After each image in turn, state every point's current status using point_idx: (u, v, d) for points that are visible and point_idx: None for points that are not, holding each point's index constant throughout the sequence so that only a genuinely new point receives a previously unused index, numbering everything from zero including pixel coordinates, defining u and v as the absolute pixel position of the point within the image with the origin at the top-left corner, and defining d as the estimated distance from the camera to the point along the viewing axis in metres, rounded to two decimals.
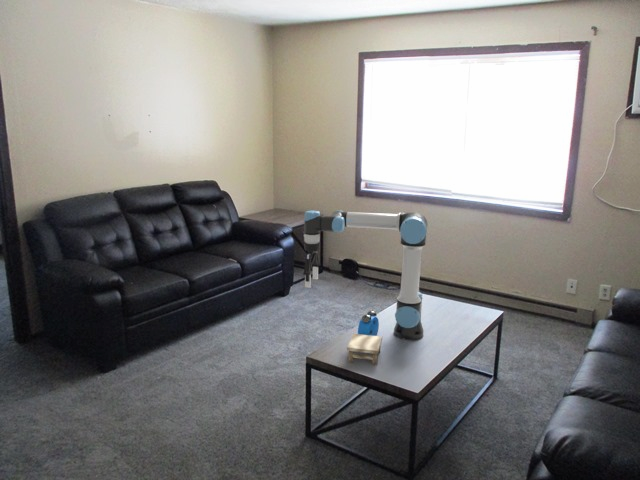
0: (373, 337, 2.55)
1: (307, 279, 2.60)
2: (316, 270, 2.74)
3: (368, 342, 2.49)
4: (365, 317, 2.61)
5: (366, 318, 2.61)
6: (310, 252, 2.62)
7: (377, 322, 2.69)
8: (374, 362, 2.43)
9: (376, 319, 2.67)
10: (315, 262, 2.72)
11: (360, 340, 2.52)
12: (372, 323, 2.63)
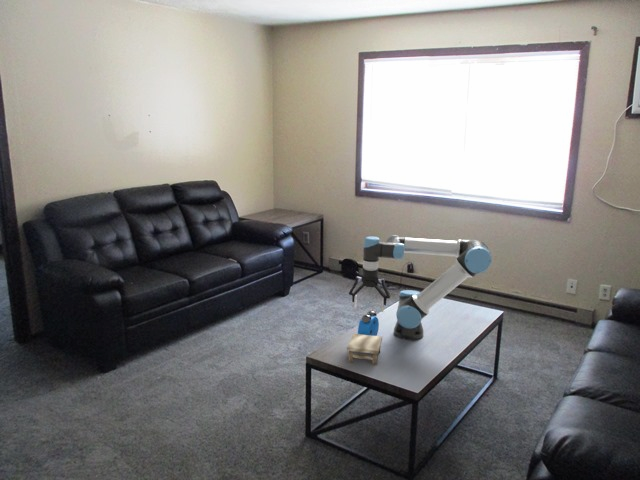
0: (373, 337, 2.55)
1: (352, 299, 2.65)
2: (382, 302, 2.62)
3: (368, 342, 2.49)
4: (365, 317, 2.61)
5: (366, 318, 2.61)
6: None
7: (377, 322, 2.69)
8: (374, 362, 2.43)
9: (376, 319, 2.67)
10: None
11: (360, 340, 2.52)
12: (372, 323, 2.63)
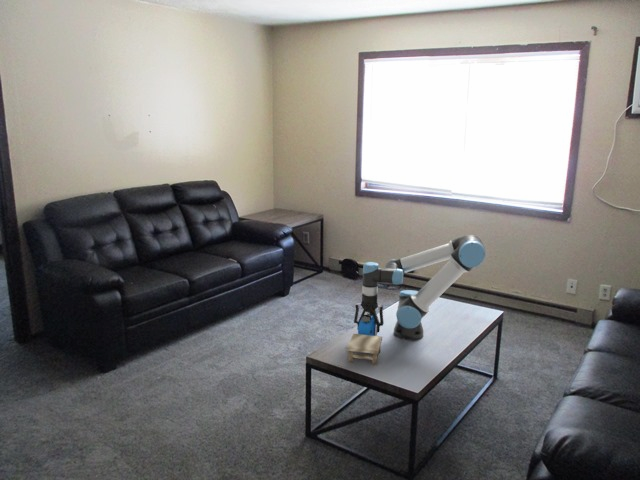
0: (373, 337, 2.55)
1: None
2: (375, 329, 2.66)
3: (368, 342, 2.49)
4: (365, 317, 2.61)
5: (366, 318, 2.61)
6: None
7: None
8: (374, 362, 2.43)
9: None
10: None
11: (360, 340, 2.52)
12: (372, 323, 2.63)
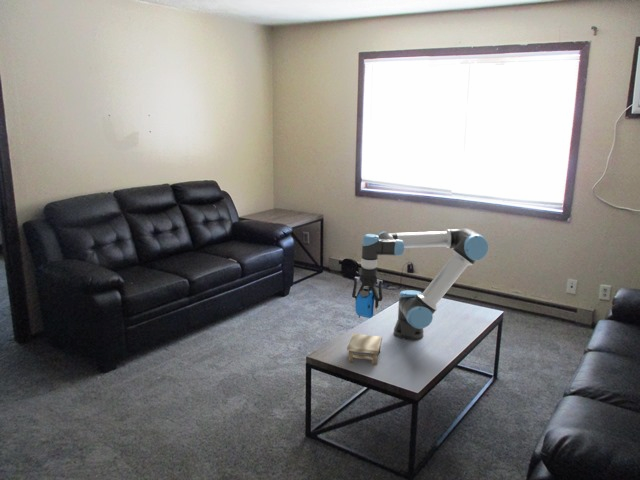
0: (373, 337, 2.55)
1: None
2: None
3: (368, 342, 2.49)
4: (363, 291, 2.52)
5: (364, 292, 2.51)
6: None
7: None
8: (374, 362, 2.43)
9: None
10: None
11: (360, 340, 2.52)
12: (370, 298, 2.53)
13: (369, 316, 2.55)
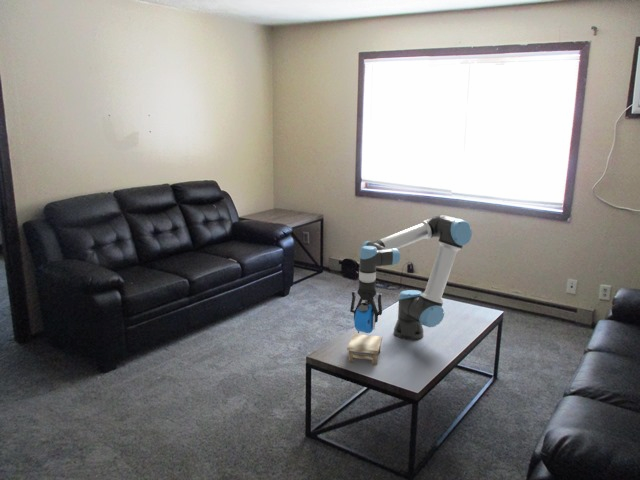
0: (373, 337, 2.55)
1: (354, 317, 2.48)
2: (373, 319, 2.45)
3: (368, 342, 2.49)
4: (362, 305, 2.41)
5: (363, 306, 2.41)
6: None
7: None
8: (374, 362, 2.43)
9: None
10: None
11: (360, 340, 2.52)
12: (370, 312, 2.43)
13: (369, 331, 2.45)
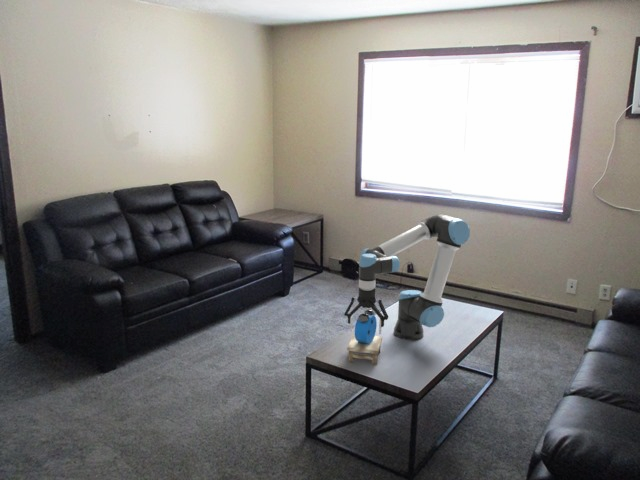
0: None
1: (348, 320, 2.49)
2: None
3: None
4: (362, 316, 2.42)
5: (363, 317, 2.42)
6: (358, 296, 2.45)
7: (375, 321, 2.50)
8: (374, 362, 2.43)
9: (374, 318, 2.48)
10: None
11: None
12: (370, 323, 2.44)
13: (369, 341, 2.46)
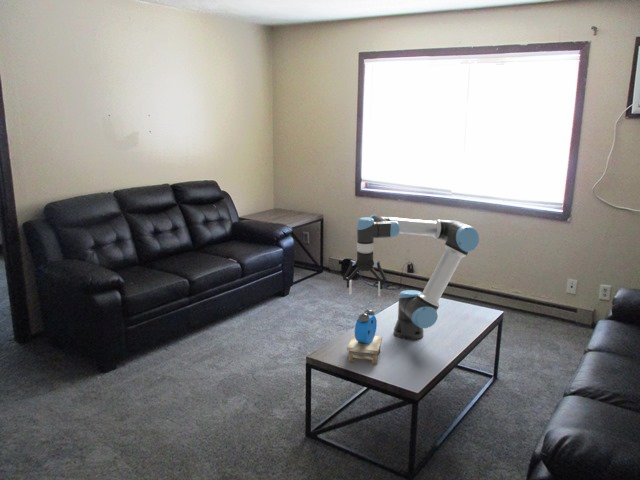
0: None
1: (347, 285, 2.52)
2: (378, 286, 2.49)
3: None
4: (362, 316, 2.42)
5: (363, 317, 2.42)
6: None
7: (375, 321, 2.50)
8: (374, 362, 2.43)
9: (374, 318, 2.48)
10: None
11: None
12: (370, 323, 2.44)
13: (369, 341, 2.46)
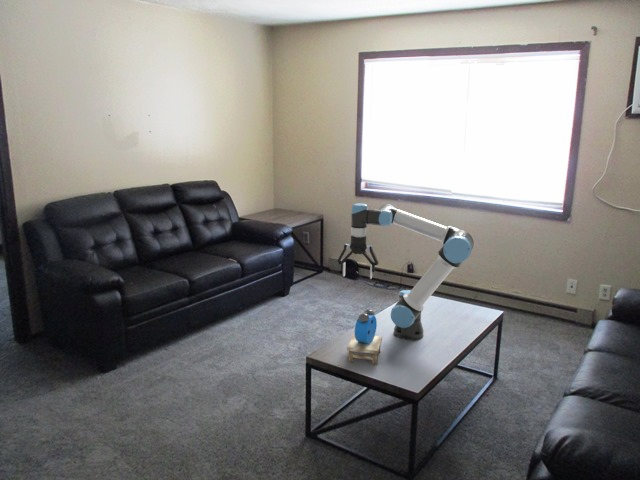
0: None
1: (341, 267, 2.67)
2: (370, 269, 2.63)
3: None
4: (362, 316, 2.42)
5: (363, 317, 2.42)
6: None
7: (375, 321, 2.50)
8: (374, 362, 2.43)
9: (374, 318, 2.48)
10: None
11: None
12: (370, 323, 2.44)
13: (369, 341, 2.46)
